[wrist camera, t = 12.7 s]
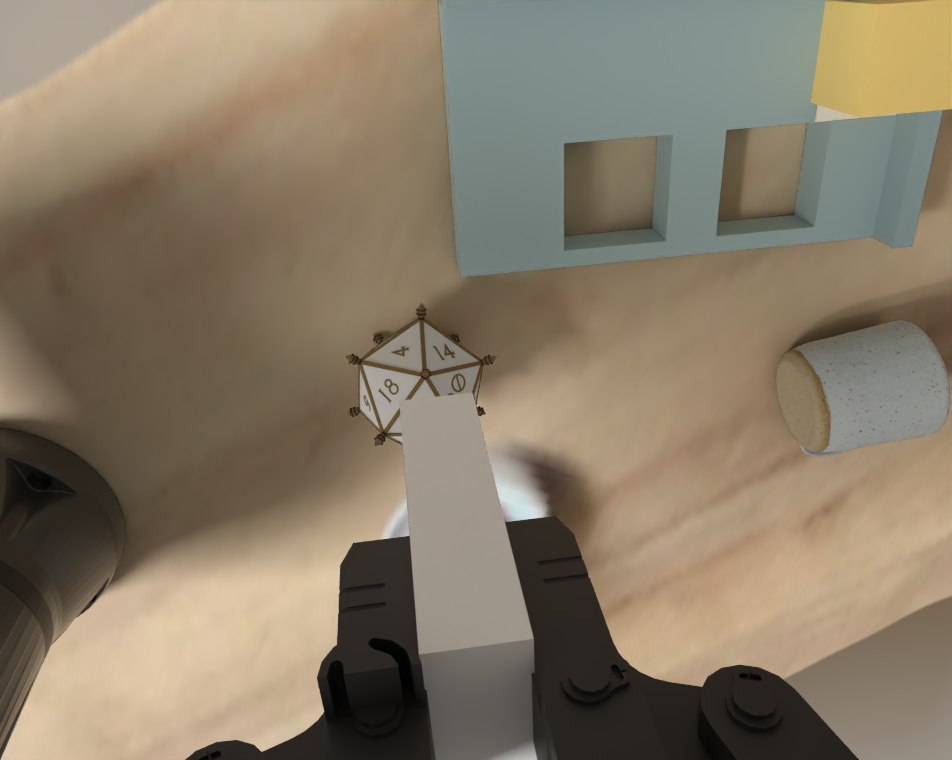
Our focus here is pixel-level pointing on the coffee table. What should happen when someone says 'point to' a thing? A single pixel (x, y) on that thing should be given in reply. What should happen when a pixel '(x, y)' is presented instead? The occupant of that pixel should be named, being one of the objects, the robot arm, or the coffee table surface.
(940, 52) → the block
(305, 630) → the coffee table surface
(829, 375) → the ceramic mug
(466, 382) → the game die
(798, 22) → the board
